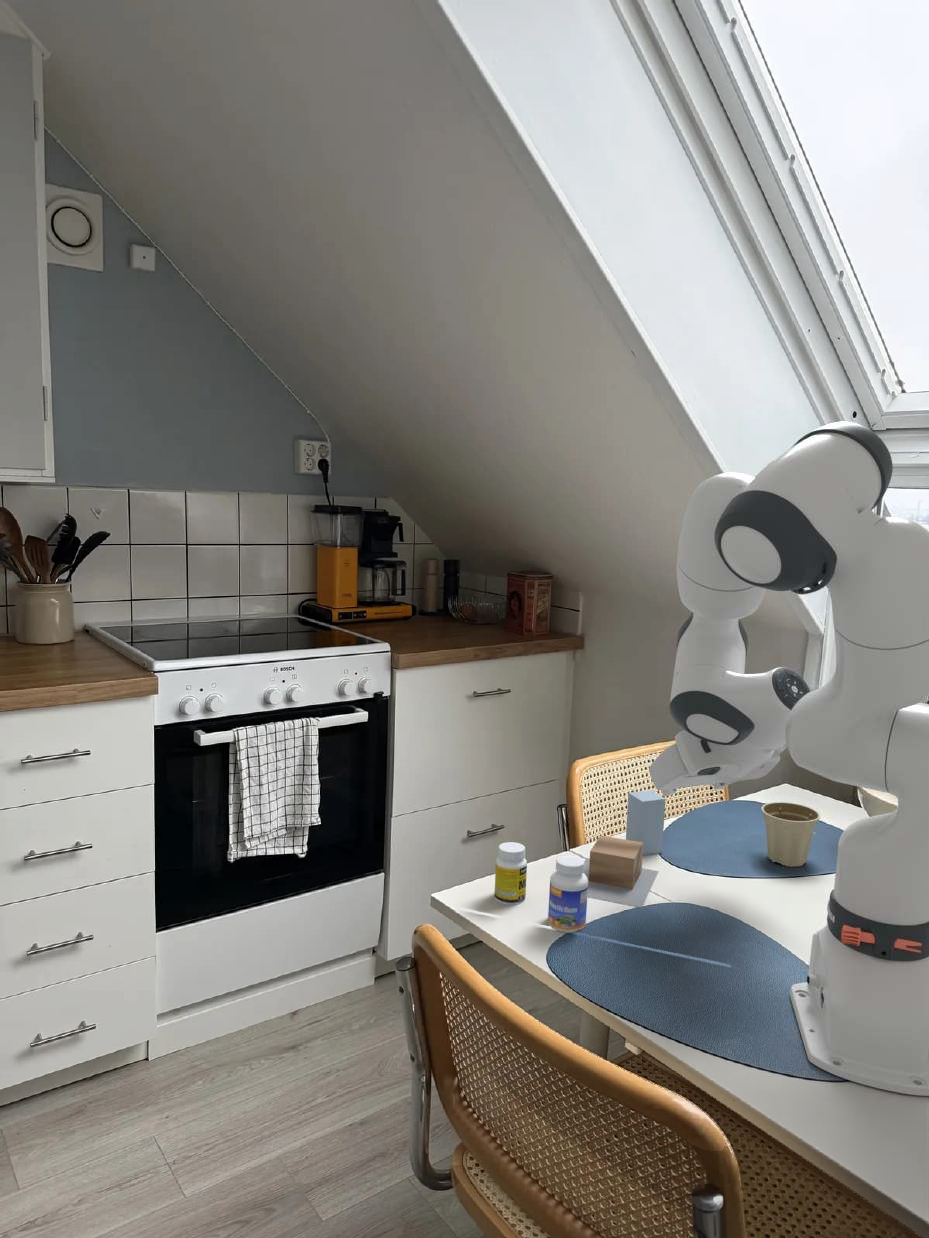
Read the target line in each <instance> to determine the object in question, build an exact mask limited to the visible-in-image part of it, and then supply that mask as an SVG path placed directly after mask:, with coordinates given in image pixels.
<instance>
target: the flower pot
mask: <svg viewBox="0 0 929 1238" xmlns="http://www.w3.org/2000/svg"><path fill="white" fill-rule="evenodd" d="M760 809H761V812H762V814H763V820H764V822H765V831H766V846H767V847H766V848H767V850H766V851H767V857H768V859H769V860H770V859H771V860H772V861H771V860H770V861H771V862H773V863H774V862H777V863H778V864H781V865H782V866H784V865H785V867H802V866H803V865H804V864H806V863H807V860H808V855H809V851H810V846H811V842H812V839H813V835H814V831H815V828H816V826H817V823H818V821H819V820H820V819H821V813H819V811H818V810H816V809H814V808H812V807H809V806H806V805H804V804H801V803H800V804H799V803H795V802H788V801H774V802H768V803H764V804H763V805H762V806H761V808H760Z"/></svg>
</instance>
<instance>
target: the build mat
mask: <svg viewBox="0 0 929 1238" xmlns="http://www.w3.org/2000/svg"><path fill="white" fill-rule="evenodd" d="M589 863H590V857H588V858H587V857H586V858H585V860H584V872H583V873H584V874H585V875H586V877H587V878H588V894H587V898H588V899H589V898H590V899H595V900H600V901H605V902H609V903H614V904H615V903H616V904H618V905H619V904H620V905H625V906H629V907H633V908H640V909H643V906H644V904H645V902H646V899H647V898H648V895H649V893H650V891H651V889H652V886H653V884H654V883H655V880H656V878H657V876H658V874H659V870H656V869H655V870H654V869H648V868H644V867H642V872H641V874H640V876H639V878H638V880H637V882H636V884H635V886H634V888H633V889H628V888H622V887H617V886H612V885H607V884H601V883H596V882H591V881H589Z"/></svg>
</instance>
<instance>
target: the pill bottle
mask: <svg viewBox="0 0 929 1238" xmlns="http://www.w3.org/2000/svg"><path fill="white" fill-rule="evenodd" d="M584 861H585V860H584V859H583V858H581V857H579V856H575V855H571V854H569V855H568V854H567V855H565V854H564V855H561V856H558V857H557V858H556V860H555V871H553V872H552V873H551V875H550V878H549V892H548V893H549V894H548V895H549V896H548V908H547V909H548V911H547V913H548V914H547V923H548V925H549V927H550V928H552V929H553V930H555V931H557V932H561V933H564V934H565V933H567V934H572V933H574V934H575V933H578V931H580V930H582V929H584V927H585V926H586V923H587V922H586V921H587V909H588V897H587V894H588V878H587V877H586V875H585V874H584V873H583V872H584Z"/></svg>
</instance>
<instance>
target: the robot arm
mask: <svg viewBox="0 0 929 1238" xmlns="http://www.w3.org/2000/svg"><path fill="white" fill-rule="evenodd" d="M892 459H893V458H892V456H891V453H890V450H889V448H888V447H887V445H886V443H885V442H884V441H883V439H881V437H879V435H877V434H876V432H874V431H873V430H871V429H869V428H868V427H866V426H864V425H862V424H858V423H856V422H850V421H835V422H832V423H829V424H826V425H822V426H820V427H817V428H816V429H813V430H812V431H810V432H808V433H807V434H804V435H803V436H802V437H800V439H798V440H797V441H796V442H795V443H794V444H793V445H792V446H791V447H790V448H789V449H787V450H786V451H785V452H783V453H782V454H781V455H780V456H778V457H777V458H776V459H774V460H773V461H770V462H769V463H767V465H766V466H765V467H763V468H762V470H761V471H759V472H758V473H757V475H755V476H752V475H749V474H744V473H740V472H724V473H723V472H722V473H718V474H716V475H713V476H711V477H708V478H707V479H705V480H704V481H701V483H700V484H699V485H698V486H697V487H696V488H695V490H694V492H693V493H692V495H691V497H690V499H689V502H688V505H687V508H686V510H685V513H684V516H683V517H684V518H683V521H682V525H681V530H680V532H679V533H680V535H679V539H678V547H677V548H678V549H677V553H676V554H677V556H676V557H677V558H676V580H677V581H676V582H677V588H678V593H679V598H680V601H681V603H682V604H683V606H685V608H686V609H688V610H689V611H690V612H692V613H691V614H690V615H689V617H688V618H687V620H686V621H685V622H684V623H683V624H682V626H681V627H680V628H679V630H678V633H677V638H676V641H677V642H676V657H675V663H674V664H675V665H674V670H673V677H672V684H671V692H670V699H669V701H670V702H669V713H670V715H671V717H672V719H673V720H674V721H675V723H676V724H677V725H678V726H679V727H680V728H681V729H683V730H681V731H680V732H678V733H677V734H676V735H675V737H674V739H675V742H674V743H672V744H670V745H669V746H667V747H666V748H665V749H664V750H663V751H661V753H660V754H659V755H658V756H657V757H656V758H655V760H653V762H652V763H651V764H650V766H649V769H648V772H649V776H650V778H651V781H652V783H653V786H654V787H655V789H656V790H657V791H661V793H662V795H663V797H667V796H674V794H676V793H677V792H678V790H677V789H681V788H683V789H684V788H689V787H690V788H692V787H698V786H708V785H712V786H713V790H715V791H716V790H724V789H725V788H726V787H727V786H729V785H731V784H733V783H736V782H741V781H748V780H749V781H750V780H756V779H757V780H758V779H761V778H763V777H765V776H767V775H768V774H769V773H770V772H771V771H772V770H774V768H775V767H776V766H777V764H778V763H779V762H780V760H781V755H780V754H781V753H783V751H785V750H786V749H787V750H788V752H789V755H790V757H791V759H792V760H793V761H794V763H795V764H796V765H797V766H798V767H800V768H802V769H804V770H807V771H809V772H811V773H814V774H816V775H818V776H821V777H823V778H825V779H828V780H831V781H833V782H836V783H840V784H841V783H842V784H844V785H850V786H854V787H860V788H863V789H864V788H865V789H869V790H872V791H877V792H880V793H881V792H882V793H887V794H890V795H892V796H895V797H896V798H897V807H896V810H895V811H892V812H888V813H884V814H883V813H882V814H879V815H873V816H869V817H865V818H861V819H859V820H857V821H855V822H854V821H853V822H852V823H850V824H849V825H848V826H847V827H846V828H845V830H844V831H842V833H841V835H840V837H839V840H838V847H837V855H836V856H837V857H836V865H835V866H836V867H835V874H834V875H835V878H834V886H833V889H832V890H831V892H830V894H829V899H828V902H827V908H826V910H827V917H826V925H825V926H824V927H823V928H821V929H819V930H818V931H816V932H814V933H813V935H812V941H811V946H810V947H811V949H810V958H809V965H808V971H807V972H808V975H807V976H806V982H799V983H794V984H792V985H791V986H790V991H789V996H790V997H789V998H790V1000H791V1004H792V1008H793V1012H794V1015H795V1019H796V1021H797V1025H798V1028H799V1032H800V1035H801V1039H802V1042H803V1046H804V1048H805V1054H806V1056H807V1059H808V1061H809V1062H810V1063H812V1064H813V1065H814V1066H816V1067H817V1068H820V1069H822V1070H824V1071H825V1072H828V1073H830V1074H832V1075H834V1076H836V1077H839V1078H843V1079H845V1080H848V1081H850V1082H854V1083H858V1084H861V1085H864V1086H868V1087H872V1088H874V1089H880V1090H884V1091H889V1092H893V1093H899V1094H904V1095H910V1096H911V1095H912V1096H921V1097H926V1096H927V1097H928V1096H929V703H924V702H923V701H924V700H926V699H927V698H929V531H928V529H926V528H925V527H923V526H922V524H919V523H918V522H916V521H914V520H910V519H908V518H904V517H899V516H881V515H879V514H876V513H875V512H874V511H872V510H873V509H874V508H876V507H877V506H878V505H879V504H880V502H881V501H882V500H883V497H884V496H885V493H886V492H887V490H888V488H889V485H890V483H891V480H892V476H893V471H894V470H893V469H894V467H893V466H894V465H893V460H892ZM825 587H826V588H827V590H828V592H829V595H830V601H831V609H832V611H831V612H832V621H833V629H834V639H835V641H834V642H835V644H834V645H835V670H834V673H833V676H832V677H831V679H830V680H829V681H828V682H827V683H826V684H824V685H822V686H821V687H820V688H817V689H815V690H812V691H811V689H810V687H809V685H808V684H807V682H806V681H805V680H804V678H803V677H801V675H800V674H799V673H797V672H796V671H795V670H793V669H791V668H788V667H784V666H780V667H779V666H778V667H776V668H773V669H771V670H768V671H766V672H761V673H760V672H759V673H745V672H746V671H745V670H746V669H745V668H746V659H747V655H748V648H749V636H748V635H747V632H746V629H745V628H744V625H743V623H742V621H741V619H744V618H746V617H749V616H750V615H753V614H754V613H755V612H756V611H757V610H758V609H759V607H760V605H761V604H762V601H763V599H764V597H765V595H766V593H767V590H769V591H774V592H775V591H776V592H787V591H791V592H792V593H795V594H798V595H808V594H811V593H815V592H818V591H820V590H822V589H824V588H825ZM806 588H809V589H806ZM922 702H923V703H922Z"/></svg>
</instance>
